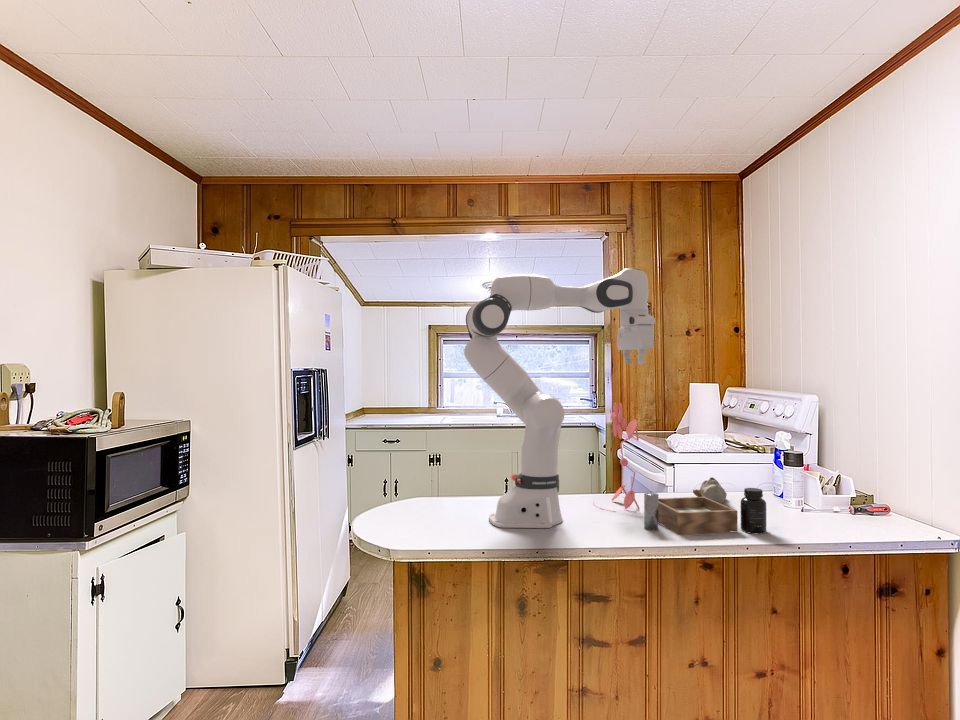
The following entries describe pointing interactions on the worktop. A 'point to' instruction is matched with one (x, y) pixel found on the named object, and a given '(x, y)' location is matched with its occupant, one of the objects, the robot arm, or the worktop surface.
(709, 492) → the ceramic sculpture
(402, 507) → the worktop surface
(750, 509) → the supplement bottle
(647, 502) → the peg
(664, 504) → the box
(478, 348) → the robot arm
